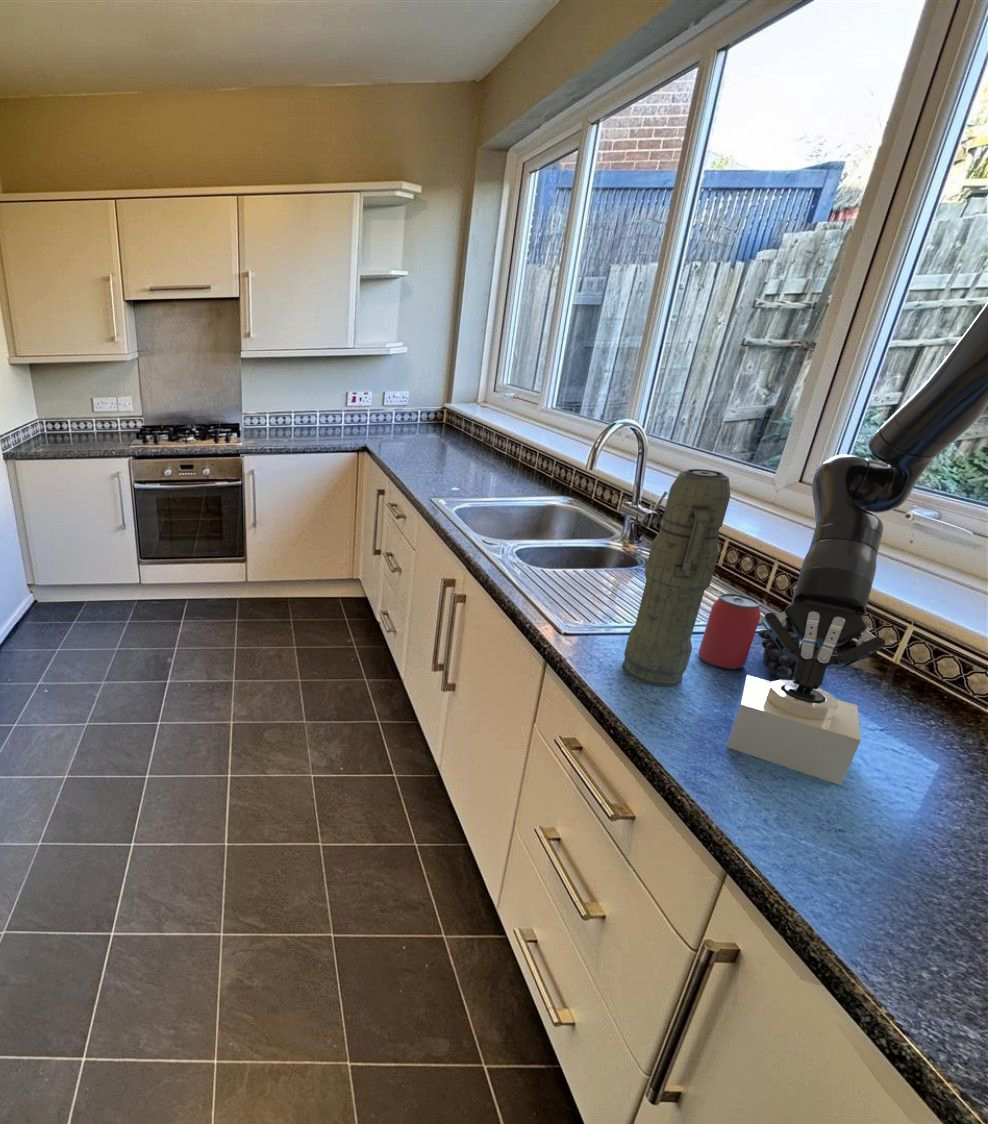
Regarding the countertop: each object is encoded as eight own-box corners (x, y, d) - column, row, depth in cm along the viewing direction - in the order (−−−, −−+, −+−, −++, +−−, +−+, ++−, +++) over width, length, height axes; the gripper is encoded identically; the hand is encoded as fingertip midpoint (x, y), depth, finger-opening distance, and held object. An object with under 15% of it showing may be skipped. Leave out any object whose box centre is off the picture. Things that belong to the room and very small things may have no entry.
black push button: (818, 703, 84) (823, 690, 84) (818, 716, 81) (823, 703, 81) (780, 693, 87) (785, 680, 86) (779, 705, 84) (784, 692, 83)
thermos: (670, 660, 109) (724, 465, 96) (692, 696, 99) (756, 483, 86) (614, 652, 112) (659, 462, 99) (629, 686, 102) (682, 479, 89)
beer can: (738, 656, 110) (757, 595, 106) (748, 674, 105) (769, 611, 100) (693, 649, 113) (711, 589, 108) (701, 666, 107) (720, 604, 103)
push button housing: (839, 748, 86) (862, 693, 83) (841, 786, 80) (866, 728, 76) (733, 715, 94) (750, 664, 91) (726, 747, 87) (744, 693, 84)
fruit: (813, 643, 96) (822, 611, 105) (745, 641, 102) (759, 611, 112) (819, 695, 97) (827, 658, 107) (752, 690, 103) (765, 655, 113)
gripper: (779, 555, 88) (747, 662, 84) (910, 578, 80) (882, 698, 76) (770, 578, 94) (739, 680, 90) (891, 602, 86) (864, 715, 82)
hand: (805, 688), depth 83 cm, fingers closed
